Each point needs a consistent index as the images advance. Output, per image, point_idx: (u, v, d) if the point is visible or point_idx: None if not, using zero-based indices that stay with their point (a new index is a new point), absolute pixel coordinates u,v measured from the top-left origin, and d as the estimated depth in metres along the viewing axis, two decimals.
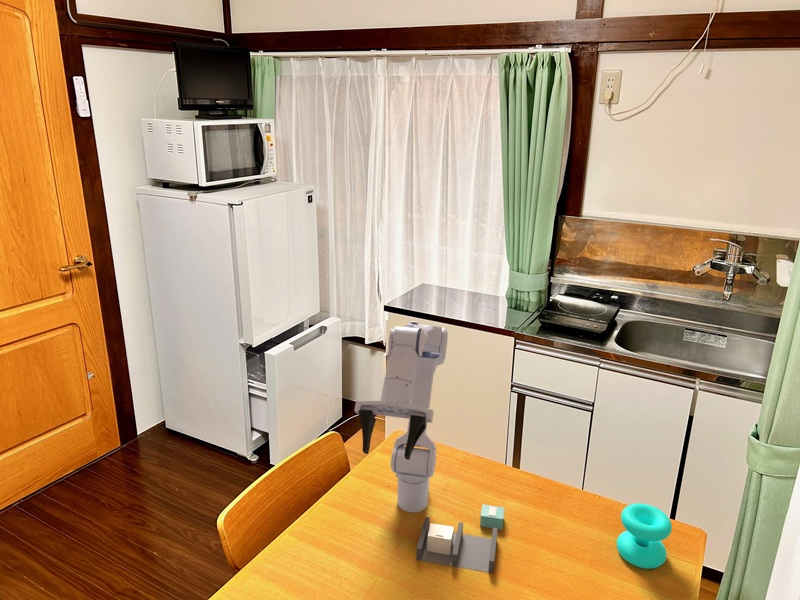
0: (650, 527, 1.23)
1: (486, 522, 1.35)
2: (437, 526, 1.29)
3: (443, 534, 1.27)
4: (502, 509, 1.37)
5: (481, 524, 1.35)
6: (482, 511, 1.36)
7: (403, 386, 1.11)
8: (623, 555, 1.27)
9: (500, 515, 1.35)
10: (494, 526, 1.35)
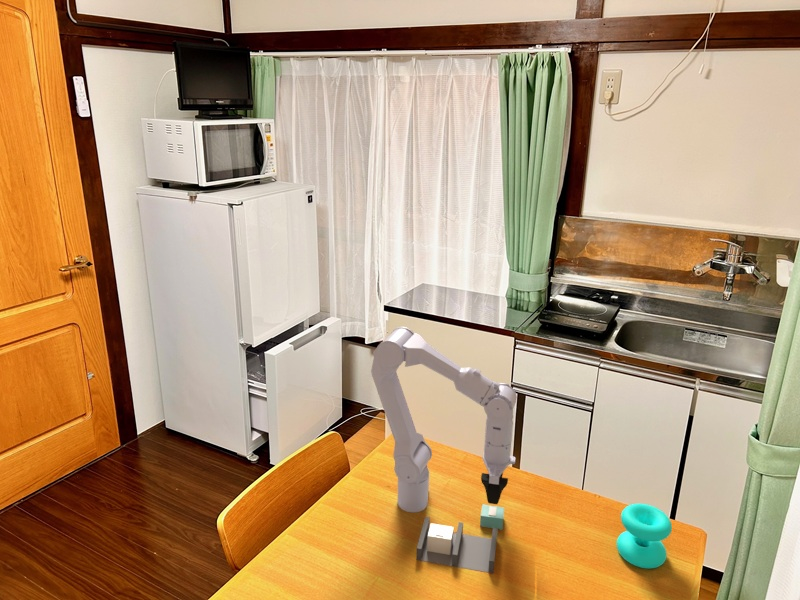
0: (650, 527, 1.23)
1: (486, 522, 1.35)
2: (437, 526, 1.29)
3: (443, 534, 1.27)
4: (502, 509, 1.37)
5: (481, 524, 1.35)
6: (482, 511, 1.36)
7: None
8: (623, 555, 1.27)
9: (500, 515, 1.35)
10: (494, 526, 1.35)
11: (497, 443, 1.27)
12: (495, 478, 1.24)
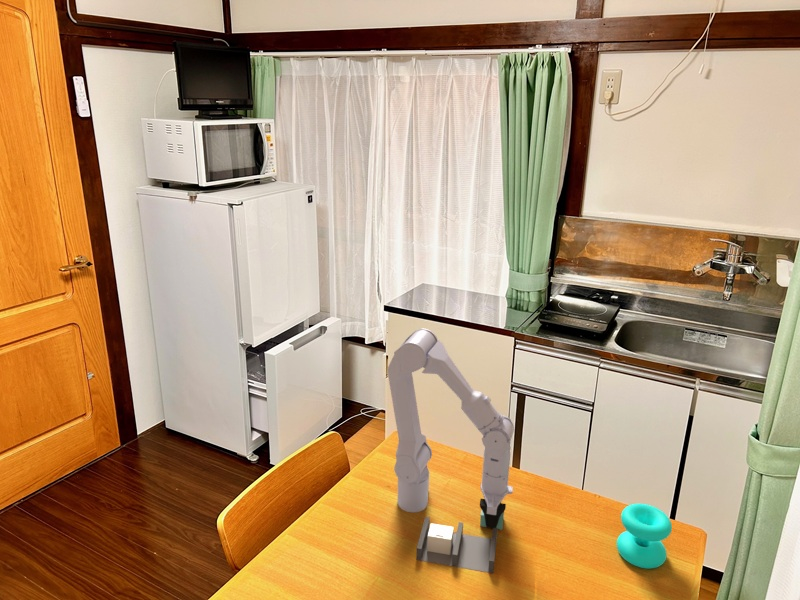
0: (650, 527, 1.23)
1: None
2: (437, 526, 1.29)
3: (443, 534, 1.27)
4: None
5: (481, 524, 1.35)
6: (482, 511, 1.36)
7: None
8: (623, 555, 1.27)
9: None
10: None
11: (495, 474, 1.29)
12: (493, 509, 1.27)
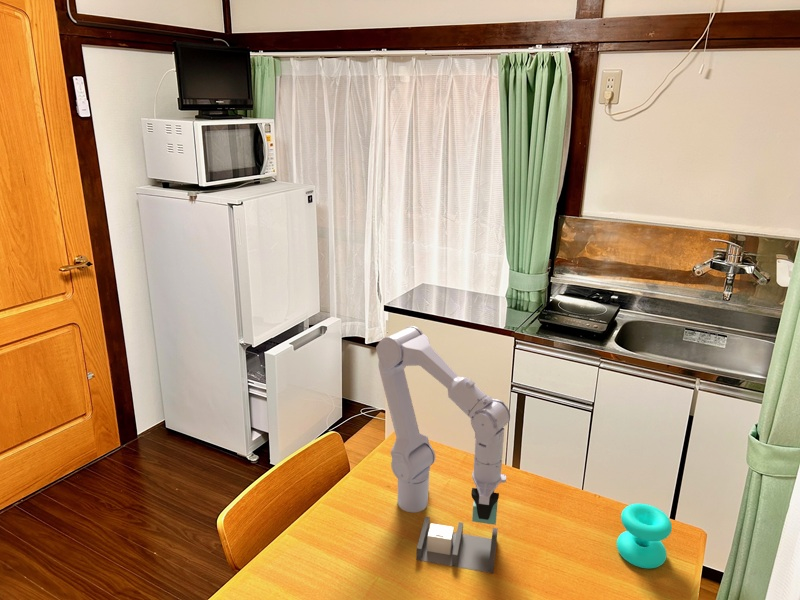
0: (650, 527, 1.23)
1: None
2: (437, 526, 1.29)
3: (443, 534, 1.27)
4: None
5: (473, 515, 1.28)
6: (474, 501, 1.28)
7: None
8: (623, 555, 1.27)
9: (494, 505, 1.27)
10: None
11: (482, 460, 1.22)
12: (485, 498, 1.19)
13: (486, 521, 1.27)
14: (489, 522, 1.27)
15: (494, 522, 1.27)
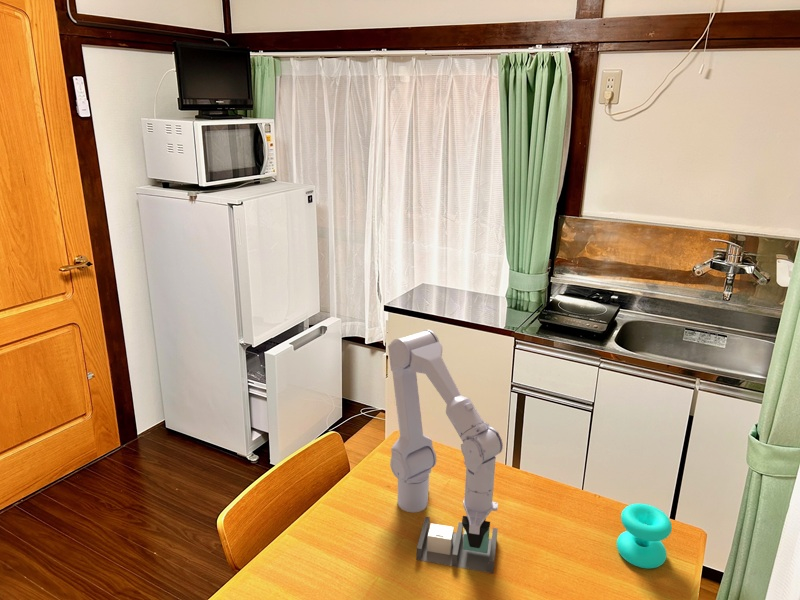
0: (650, 527, 1.23)
1: None
2: (437, 526, 1.29)
3: (443, 534, 1.27)
4: None
5: (465, 543, 1.25)
6: None
7: None
8: (623, 555, 1.27)
9: (485, 533, 1.24)
10: None
11: (471, 487, 1.20)
12: (475, 528, 1.17)
13: (477, 549, 1.25)
14: (480, 550, 1.25)
15: (485, 551, 1.25)
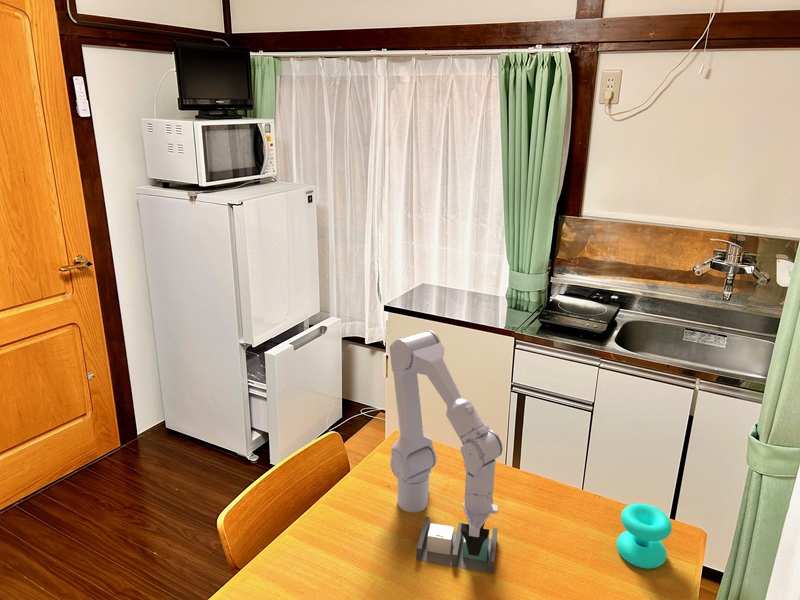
0: (650, 527, 1.23)
1: None
2: (437, 526, 1.29)
3: (443, 534, 1.27)
4: None
5: (464, 551, 1.26)
6: None
7: None
8: (623, 555, 1.27)
9: (485, 541, 1.25)
10: None
11: (470, 490, 1.20)
12: (475, 530, 1.17)
13: (477, 557, 1.26)
14: (480, 558, 1.25)
15: (484, 559, 1.25)
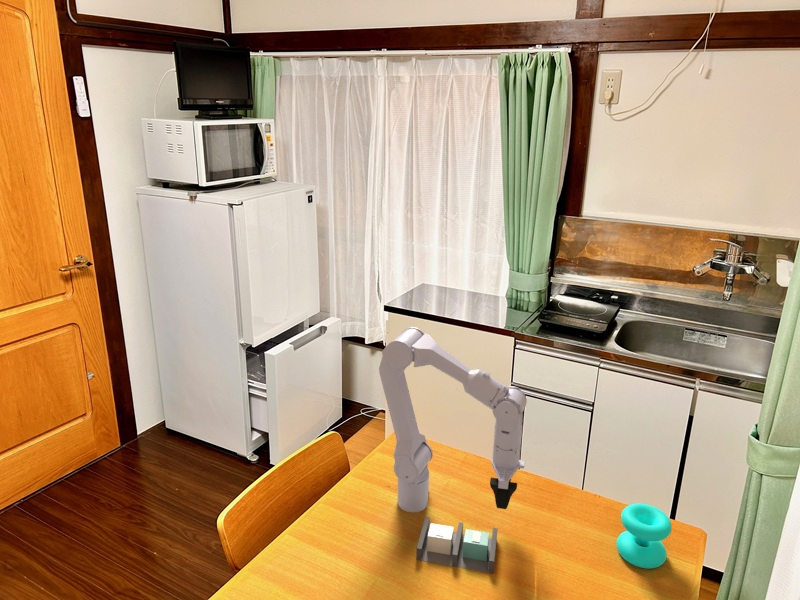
0: (650, 527, 1.23)
1: (469, 549, 1.25)
2: (437, 526, 1.29)
3: (443, 534, 1.27)
4: (487, 534, 1.27)
5: (464, 551, 1.26)
6: (465, 537, 1.26)
7: None
8: (623, 555, 1.27)
9: (485, 541, 1.25)
10: (478, 553, 1.25)
11: (505, 447, 1.25)
12: (504, 483, 1.23)
13: (477, 557, 1.26)
14: (480, 558, 1.25)
15: (484, 559, 1.25)
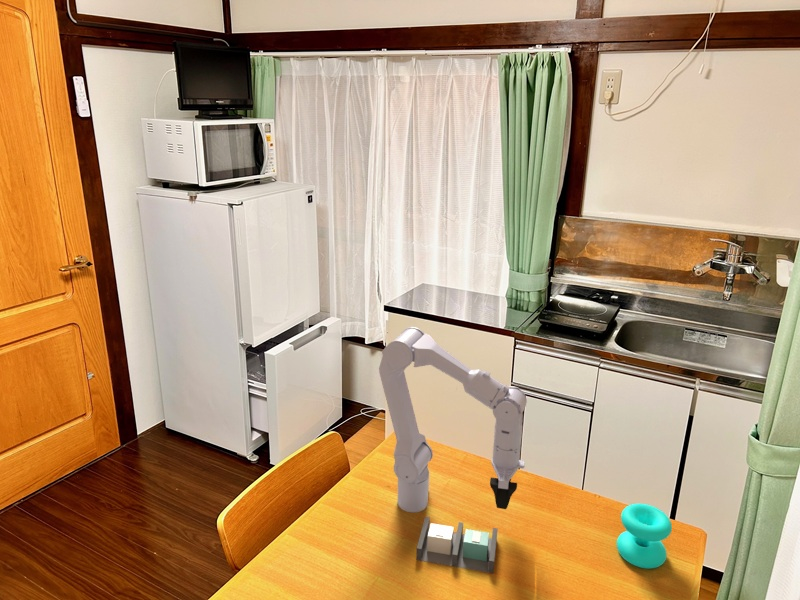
0: (650, 527, 1.23)
1: (469, 549, 1.25)
2: (437, 526, 1.29)
3: (443, 534, 1.27)
4: (487, 534, 1.27)
5: (464, 551, 1.26)
6: (465, 537, 1.26)
7: None
8: (623, 555, 1.27)
9: (485, 541, 1.25)
10: (478, 553, 1.25)
11: (505, 447, 1.25)
12: (504, 483, 1.23)
13: (477, 557, 1.26)
14: (480, 558, 1.25)
15: (484, 559, 1.25)
